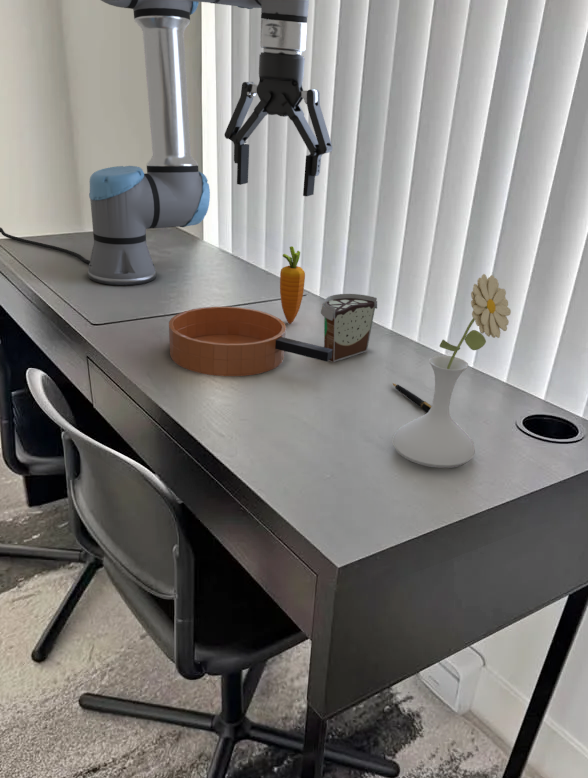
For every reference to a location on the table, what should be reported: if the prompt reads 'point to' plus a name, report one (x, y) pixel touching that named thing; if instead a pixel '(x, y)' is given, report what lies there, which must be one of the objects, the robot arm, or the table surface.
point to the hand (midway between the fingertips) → (274, 189)
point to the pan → (226, 341)
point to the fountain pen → (414, 398)
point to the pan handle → (304, 349)
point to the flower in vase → (436, 428)
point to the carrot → (291, 286)
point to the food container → (347, 324)
